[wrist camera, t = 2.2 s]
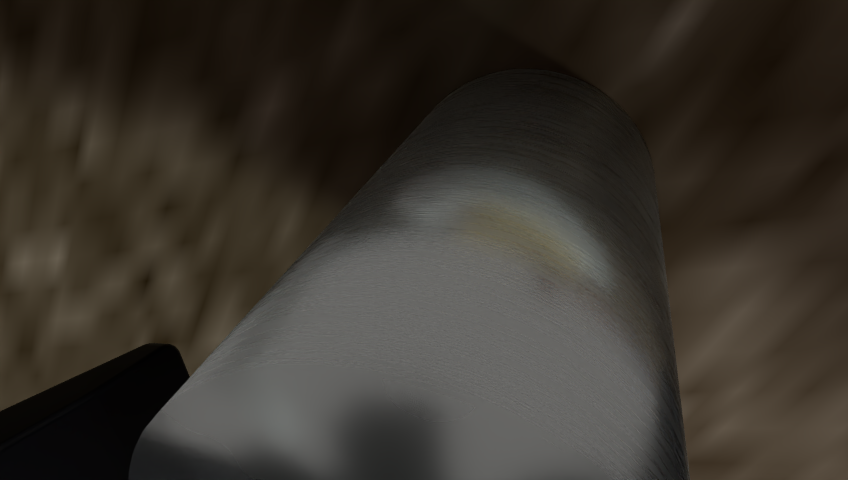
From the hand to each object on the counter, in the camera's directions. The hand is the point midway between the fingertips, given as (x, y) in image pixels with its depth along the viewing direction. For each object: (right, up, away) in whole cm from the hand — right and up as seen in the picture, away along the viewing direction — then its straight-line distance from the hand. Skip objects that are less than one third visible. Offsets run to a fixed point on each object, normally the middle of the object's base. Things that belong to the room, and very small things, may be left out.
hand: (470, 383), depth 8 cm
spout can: (+2, +2, +6) cm, 6 cm away
